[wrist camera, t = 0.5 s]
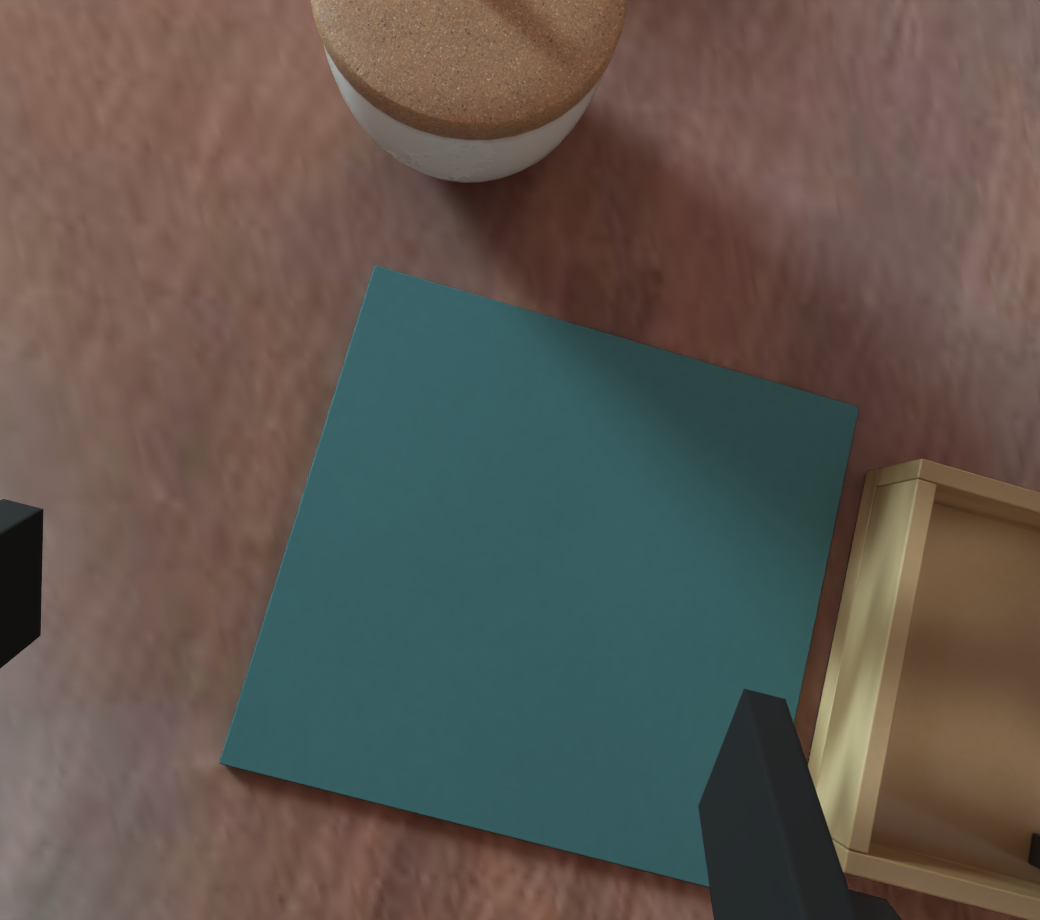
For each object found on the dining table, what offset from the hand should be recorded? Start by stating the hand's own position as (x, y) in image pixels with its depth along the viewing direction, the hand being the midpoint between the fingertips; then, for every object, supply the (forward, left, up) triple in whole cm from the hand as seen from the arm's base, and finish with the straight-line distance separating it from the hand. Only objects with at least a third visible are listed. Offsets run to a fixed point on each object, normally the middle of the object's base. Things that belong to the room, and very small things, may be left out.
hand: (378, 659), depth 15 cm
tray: (+3, -26, -17) cm, 31 cm away
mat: (+3, -5, -17) cm, 18 cm away
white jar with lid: (+21, +4, -17) cm, 27 cm away
